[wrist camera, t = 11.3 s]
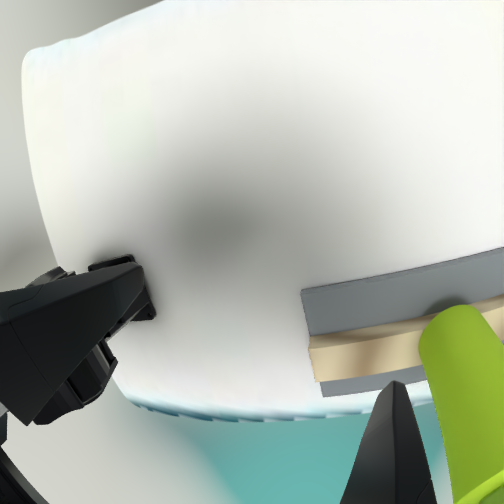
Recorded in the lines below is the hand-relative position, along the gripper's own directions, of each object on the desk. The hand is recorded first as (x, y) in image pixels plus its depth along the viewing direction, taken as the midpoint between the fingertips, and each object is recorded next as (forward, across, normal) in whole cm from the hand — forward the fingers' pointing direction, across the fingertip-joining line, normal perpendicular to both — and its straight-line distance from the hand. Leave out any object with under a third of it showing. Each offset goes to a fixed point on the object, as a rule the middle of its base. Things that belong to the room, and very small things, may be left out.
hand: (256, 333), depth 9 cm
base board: (+13, -11, +7) cm, 19 cm away
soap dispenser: (+11, -13, +5) cm, 18 cm away
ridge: (+13, -11, +7) cm, 19 cm away
